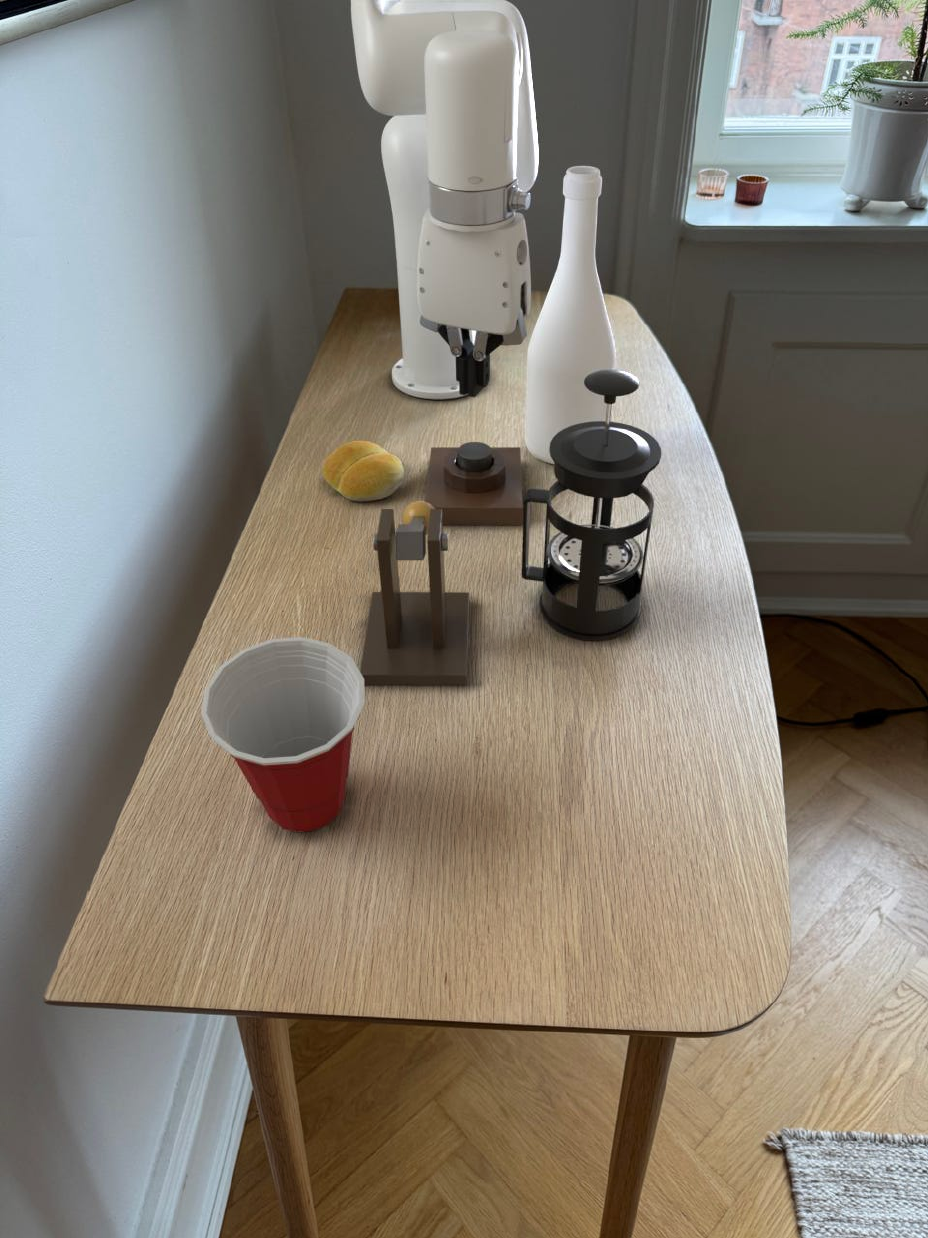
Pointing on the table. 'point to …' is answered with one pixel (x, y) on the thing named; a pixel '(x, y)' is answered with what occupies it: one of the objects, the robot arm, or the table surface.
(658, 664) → the table surface
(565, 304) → the wine bottle
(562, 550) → the french press
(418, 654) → the bracket
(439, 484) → the button block
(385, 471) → the bread roll
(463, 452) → the button
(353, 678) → the plastic cup
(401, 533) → the grey lever with knob
